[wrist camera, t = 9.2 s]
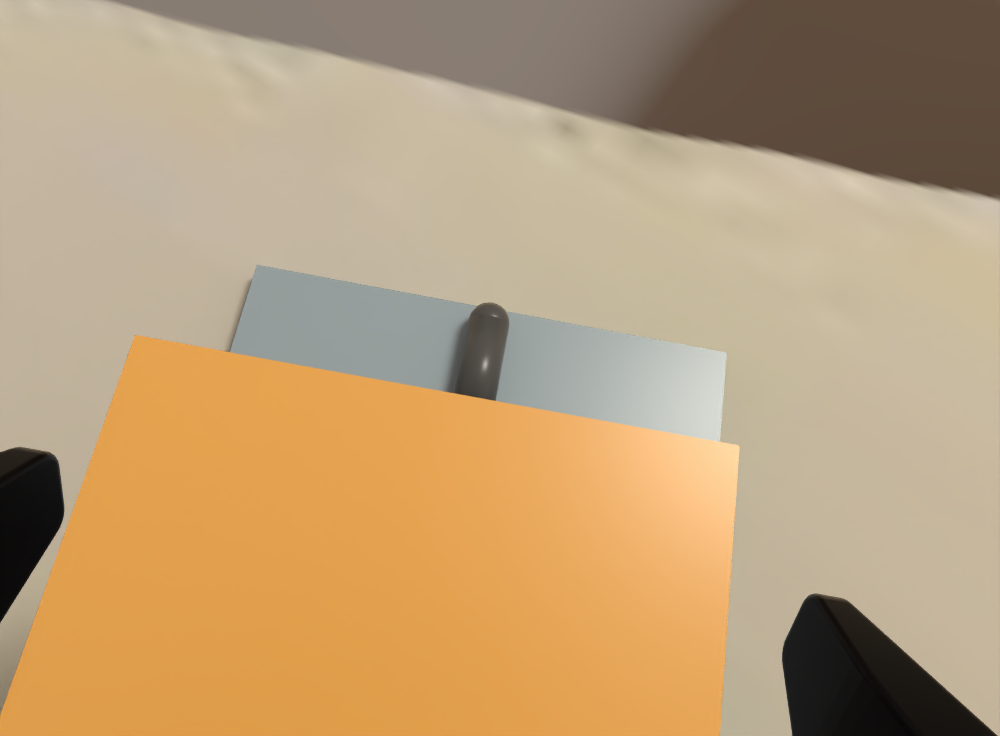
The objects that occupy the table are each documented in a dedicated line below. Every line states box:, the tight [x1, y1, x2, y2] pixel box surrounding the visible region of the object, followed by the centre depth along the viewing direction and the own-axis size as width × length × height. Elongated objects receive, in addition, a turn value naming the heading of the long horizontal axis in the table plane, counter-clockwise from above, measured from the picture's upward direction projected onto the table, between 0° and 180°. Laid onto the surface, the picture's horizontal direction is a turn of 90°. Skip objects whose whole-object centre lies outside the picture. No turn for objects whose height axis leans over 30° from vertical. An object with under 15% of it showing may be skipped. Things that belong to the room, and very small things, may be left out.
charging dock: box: [230, 265, 727, 442], centre depth 16 cm, size 16×12×2 cm
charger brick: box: [0, 335, 739, 736], centre depth 10 cm, size 4×4×12 cm
